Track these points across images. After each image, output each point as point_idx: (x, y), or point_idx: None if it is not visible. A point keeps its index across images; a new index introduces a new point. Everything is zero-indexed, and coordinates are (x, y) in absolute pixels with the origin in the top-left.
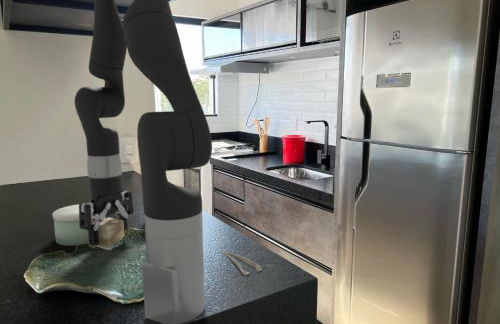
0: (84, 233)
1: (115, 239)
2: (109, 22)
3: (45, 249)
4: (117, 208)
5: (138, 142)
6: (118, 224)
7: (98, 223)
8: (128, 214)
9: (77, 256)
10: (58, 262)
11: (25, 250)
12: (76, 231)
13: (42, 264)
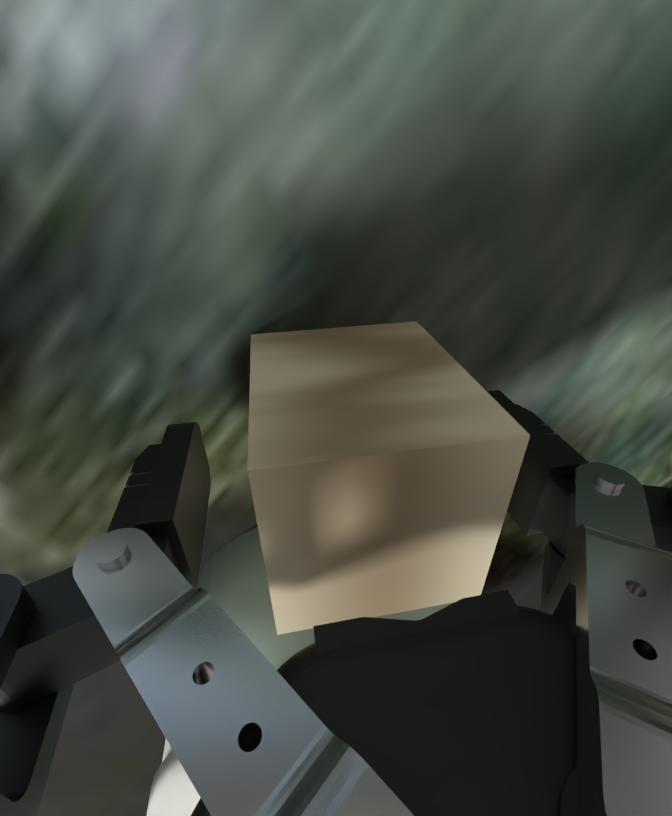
0: None
1: (364, 355)
2: None
3: (503, 574)
4: (303, 710)
5: None
6: (341, 439)
7: (605, 517)
8: (50, 587)
9: (543, 411)
10: (625, 422)
11: (529, 606)
12: (451, 603)
13: (650, 457)
